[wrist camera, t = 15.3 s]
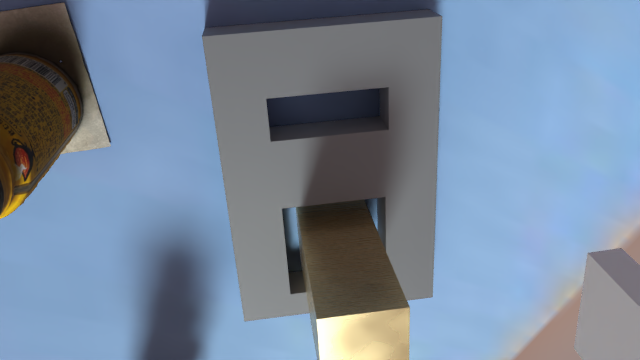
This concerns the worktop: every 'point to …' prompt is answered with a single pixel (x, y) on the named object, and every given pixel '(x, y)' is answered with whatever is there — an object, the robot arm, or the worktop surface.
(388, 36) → the socket plate
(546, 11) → the worktop surface
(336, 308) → the brass peg
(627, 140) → the worktop surface
